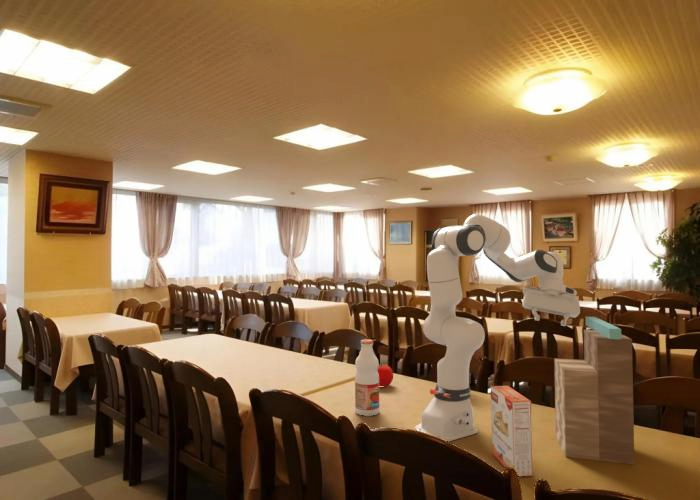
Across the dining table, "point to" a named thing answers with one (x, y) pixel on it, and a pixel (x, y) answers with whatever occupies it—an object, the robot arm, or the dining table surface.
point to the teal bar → (603, 328)
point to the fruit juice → (367, 381)
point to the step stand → (596, 401)
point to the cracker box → (511, 429)
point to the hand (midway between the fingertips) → (550, 322)
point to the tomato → (385, 375)
